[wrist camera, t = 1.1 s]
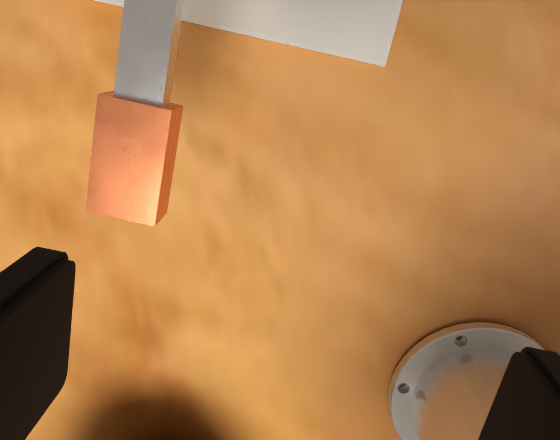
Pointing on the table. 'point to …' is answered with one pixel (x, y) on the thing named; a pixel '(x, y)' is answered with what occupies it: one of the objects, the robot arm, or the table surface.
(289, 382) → the table surface
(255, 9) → the base board
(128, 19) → the valve lever
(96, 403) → the table surface
